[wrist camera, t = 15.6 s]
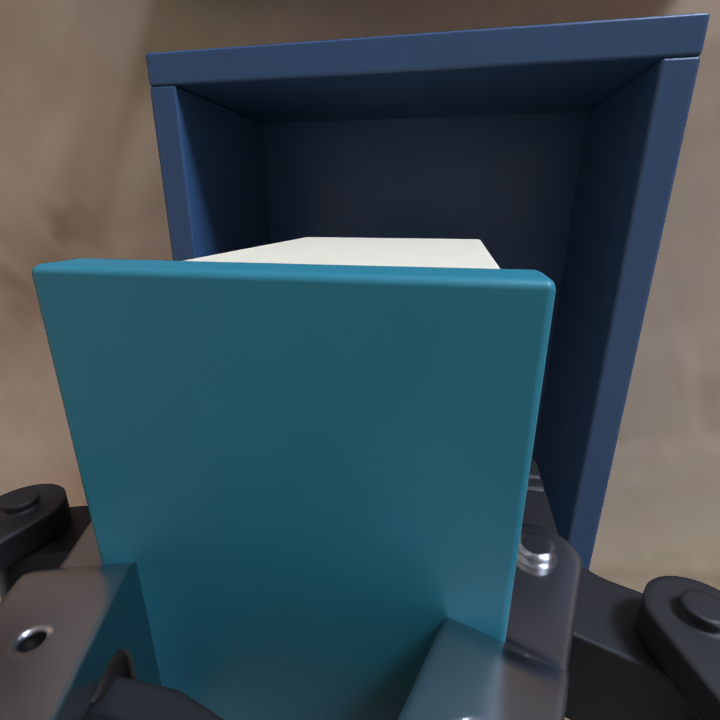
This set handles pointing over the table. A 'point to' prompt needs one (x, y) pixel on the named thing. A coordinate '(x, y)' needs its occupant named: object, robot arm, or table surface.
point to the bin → (458, 180)
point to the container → (304, 456)
